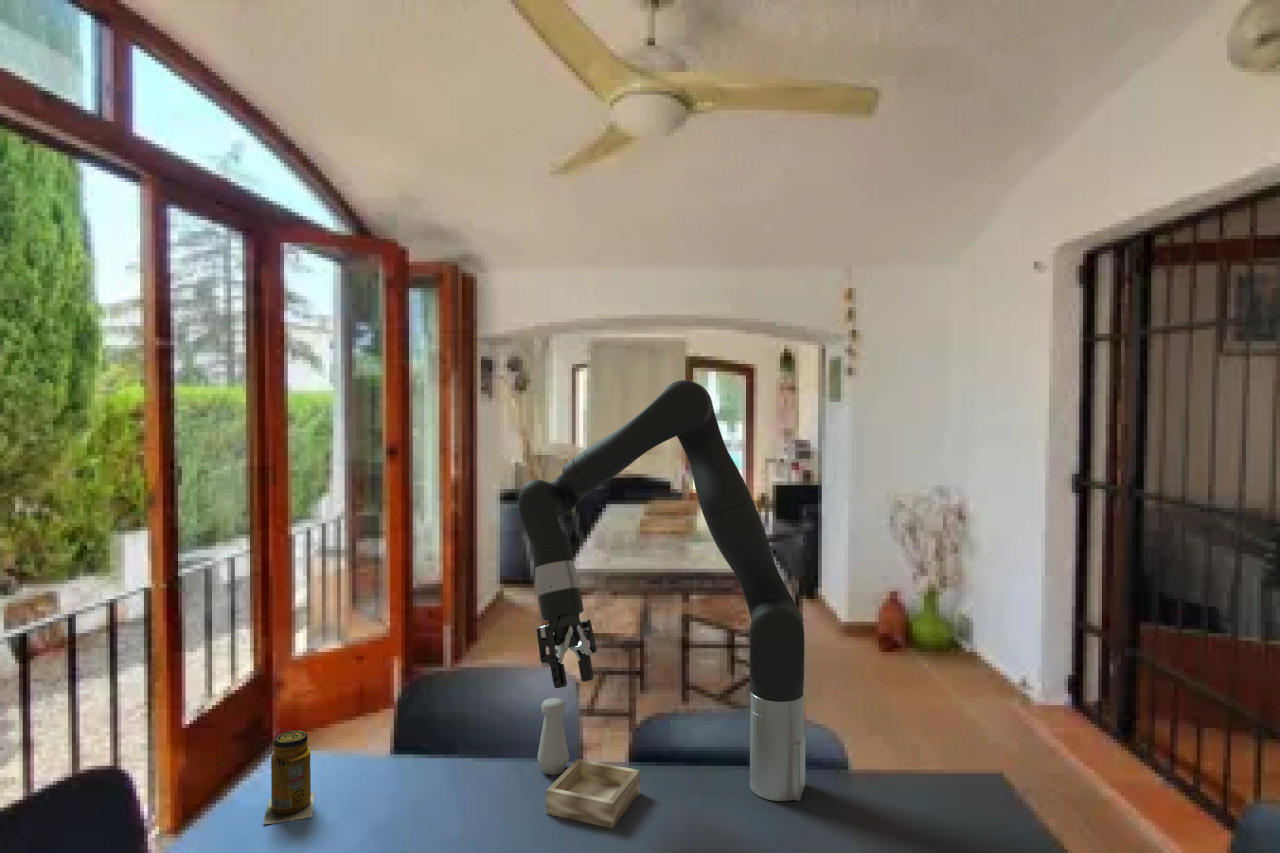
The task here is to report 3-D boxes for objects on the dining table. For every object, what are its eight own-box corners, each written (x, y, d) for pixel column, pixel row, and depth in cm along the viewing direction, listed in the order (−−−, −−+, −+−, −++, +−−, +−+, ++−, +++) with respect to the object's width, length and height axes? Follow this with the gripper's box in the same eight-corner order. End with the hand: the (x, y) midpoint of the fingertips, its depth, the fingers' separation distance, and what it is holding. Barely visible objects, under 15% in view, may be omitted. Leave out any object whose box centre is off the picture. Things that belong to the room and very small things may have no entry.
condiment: (315, 793, 133) (314, 725, 132) (312, 817, 125) (311, 745, 124) (268, 800, 130) (267, 731, 130) (262, 826, 122) (261, 752, 122)
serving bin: (639, 792, 133) (639, 770, 133) (612, 828, 121) (612, 803, 121) (577, 780, 137) (577, 758, 137) (546, 813, 126) (546, 790, 126)
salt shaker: (563, 778, 138) (563, 708, 137) (533, 775, 139) (533, 705, 138) (572, 763, 143) (572, 695, 143) (543, 761, 144) (543, 693, 144)
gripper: (553, 586, 127) (570, 686, 123) (596, 584, 140) (613, 675, 135) (517, 596, 131) (533, 693, 126) (563, 593, 143) (578, 682, 138)
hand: (574, 684), depth 131 cm, fingers open, 8 cm apart
